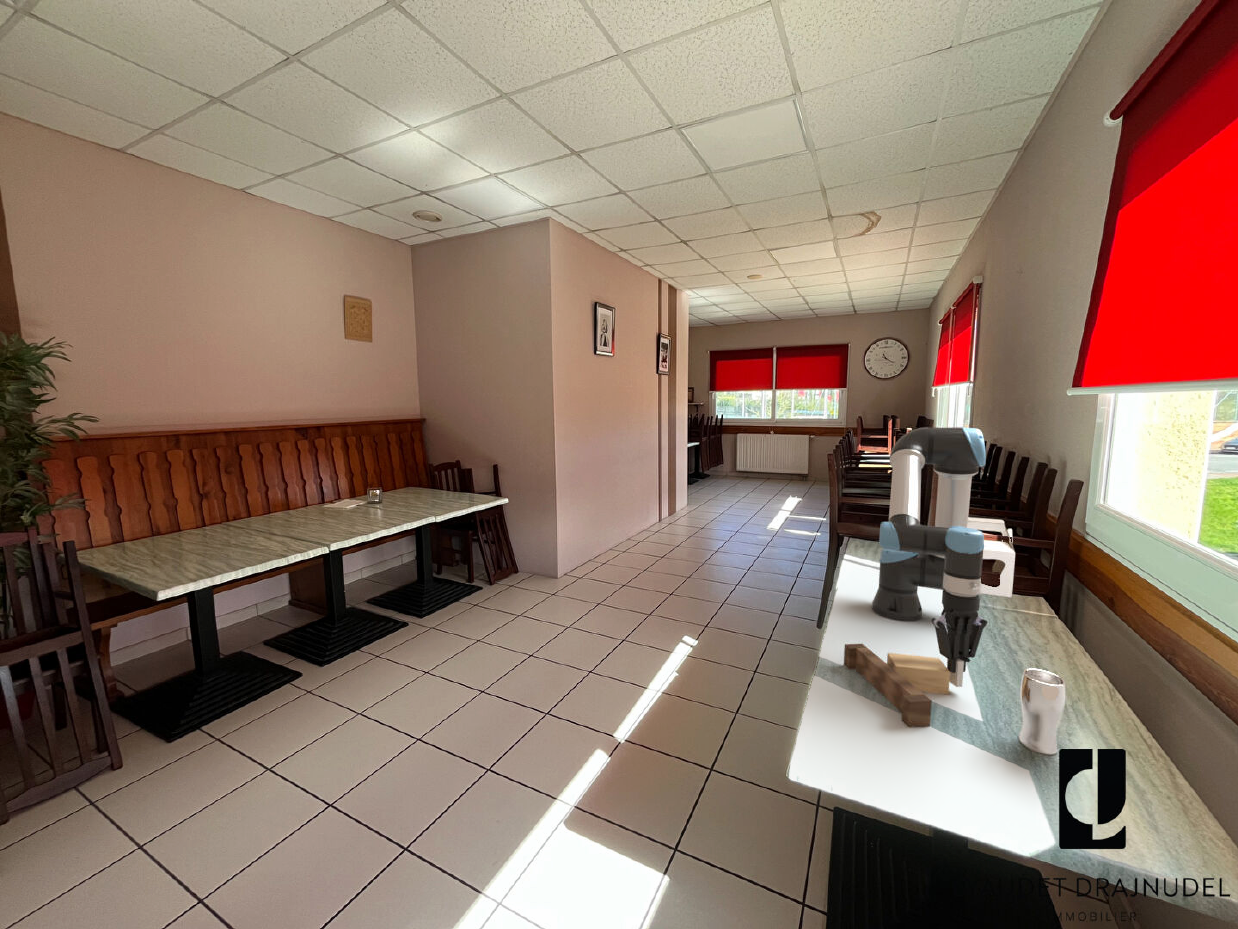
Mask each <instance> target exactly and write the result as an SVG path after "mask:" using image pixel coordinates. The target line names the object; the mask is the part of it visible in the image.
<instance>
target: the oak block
mask: <svg viewBox="0 0 1238 929" xmlns="http://www.w3.org/2000/svg"><path fill="white" fill-rule="evenodd" d="M886 657H887V659H886V664H888V665H889V666H890V667H891V668H893V669H894V670H895V671H896V672H897V673H899V674H900V675H901V676H902V677H903V678H905V679H906V680H907V681H908V682H910V683H911V684H912V685H913V686H914V687H916V688H917V689H918V690H919V691H920V692H922V693H923V692H925V693H933V694H941V695H949V691H950V682H949V679H950V671H949V670H948V669H947V666H946V665H945V664H944V663H943V662H942V660H941V658H939V657H931V656H923V655H921V656H920V655H912V654H911V655H910V654H901V653H893V652H892V653H891V652H887V656H886Z"/></svg>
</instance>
